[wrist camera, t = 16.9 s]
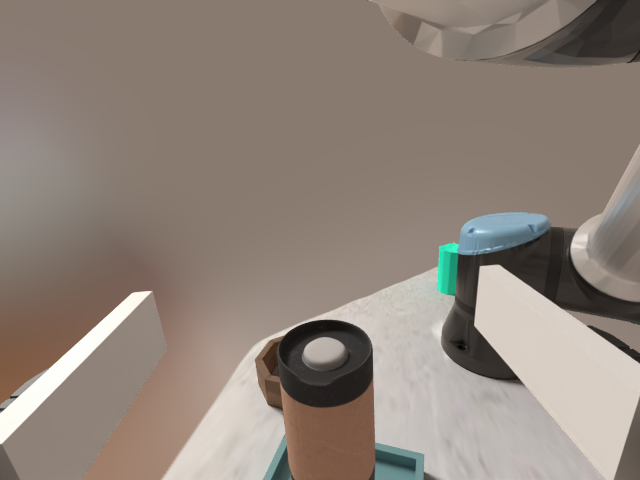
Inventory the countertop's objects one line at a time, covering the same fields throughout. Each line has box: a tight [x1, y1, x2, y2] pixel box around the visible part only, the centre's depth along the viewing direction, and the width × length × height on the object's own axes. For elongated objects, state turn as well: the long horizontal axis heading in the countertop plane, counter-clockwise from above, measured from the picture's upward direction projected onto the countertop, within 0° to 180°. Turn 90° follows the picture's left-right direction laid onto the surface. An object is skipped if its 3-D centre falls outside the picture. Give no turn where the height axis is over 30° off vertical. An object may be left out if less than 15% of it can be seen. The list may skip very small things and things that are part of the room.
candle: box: [437, 243, 459, 295], centre depth 75 cm, size 6×6×12 cm
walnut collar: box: [255, 336, 284, 408], centre depth 51 cm, size 12×12×4 cm
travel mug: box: [277, 320, 375, 480], centre depth 28 cm, size 8×8×20 cm
